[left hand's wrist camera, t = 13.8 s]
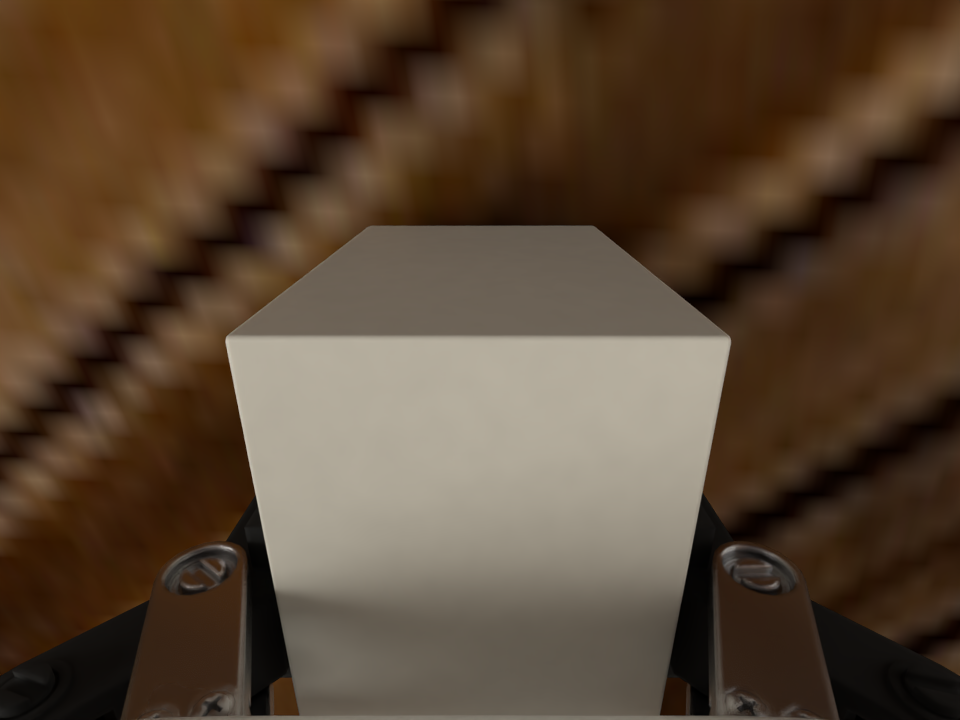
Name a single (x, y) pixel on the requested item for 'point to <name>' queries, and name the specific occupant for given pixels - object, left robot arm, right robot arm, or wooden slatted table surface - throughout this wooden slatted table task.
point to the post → (479, 470)
